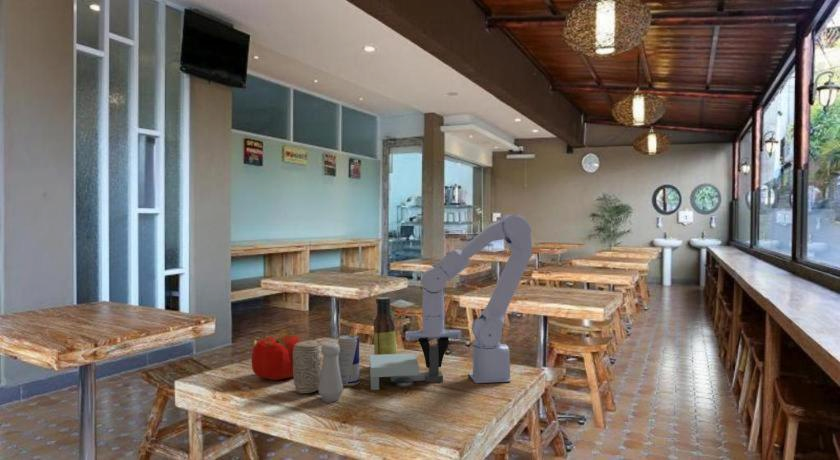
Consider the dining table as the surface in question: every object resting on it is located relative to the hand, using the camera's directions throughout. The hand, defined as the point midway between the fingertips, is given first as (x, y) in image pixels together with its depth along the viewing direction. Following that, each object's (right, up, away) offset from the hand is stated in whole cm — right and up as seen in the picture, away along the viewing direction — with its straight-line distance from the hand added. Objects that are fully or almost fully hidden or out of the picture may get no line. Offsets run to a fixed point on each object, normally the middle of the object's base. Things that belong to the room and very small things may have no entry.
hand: (433, 366), depth 132 cm
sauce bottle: (-14, -4, +12) cm, 18 cm away
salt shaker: (-25, -4, -14) cm, 28 cm away
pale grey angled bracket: (-10, -4, -1) cm, 11 cm away
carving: (-31, -4, -9) cm, 33 cm away
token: (-8, -4, -3) cm, 9 cm away
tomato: (-42, -4, +3) cm, 42 cm away
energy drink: (-22, -4, -2) cm, 22 cm away
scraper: (-4, -4, 0) cm, 6 cm away
